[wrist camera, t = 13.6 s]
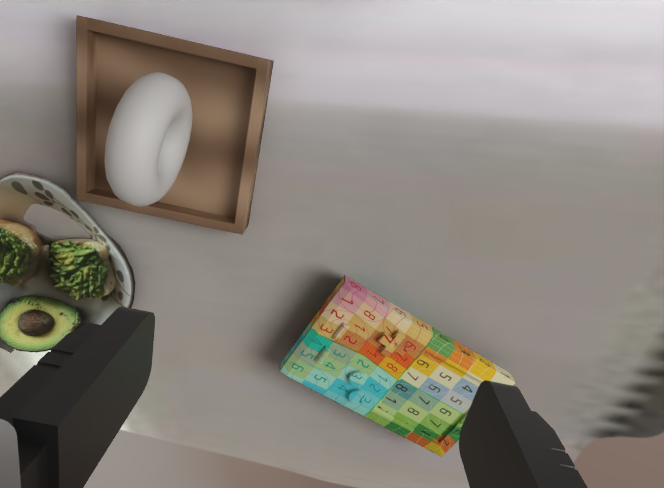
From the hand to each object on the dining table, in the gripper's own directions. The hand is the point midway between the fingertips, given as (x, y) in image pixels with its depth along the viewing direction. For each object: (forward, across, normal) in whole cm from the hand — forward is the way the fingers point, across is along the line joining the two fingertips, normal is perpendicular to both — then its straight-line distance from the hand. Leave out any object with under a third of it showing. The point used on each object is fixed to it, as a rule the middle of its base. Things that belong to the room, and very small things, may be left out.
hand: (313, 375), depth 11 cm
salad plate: (+31, +26, +18) cm, 44 cm away
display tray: (+30, +14, +1) cm, 33 cm away
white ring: (+29, +14, +1) cm, 32 cm away
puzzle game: (+31, -10, +19) cm, 38 cm away
